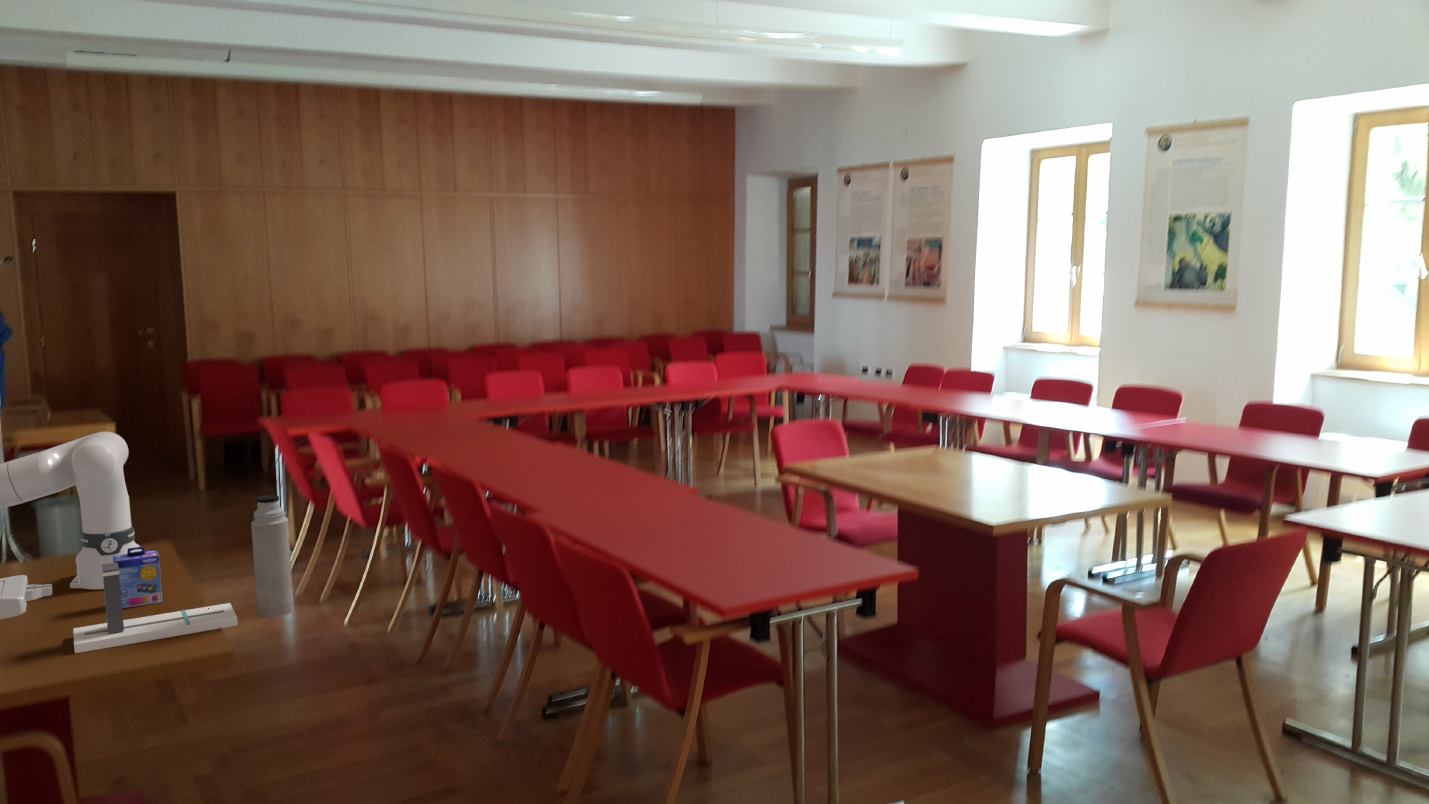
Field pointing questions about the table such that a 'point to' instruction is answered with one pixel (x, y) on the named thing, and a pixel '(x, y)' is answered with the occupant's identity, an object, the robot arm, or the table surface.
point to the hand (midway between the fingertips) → (52, 589)
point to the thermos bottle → (272, 559)
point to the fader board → (155, 627)
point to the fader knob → (112, 597)
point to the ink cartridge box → (139, 577)
